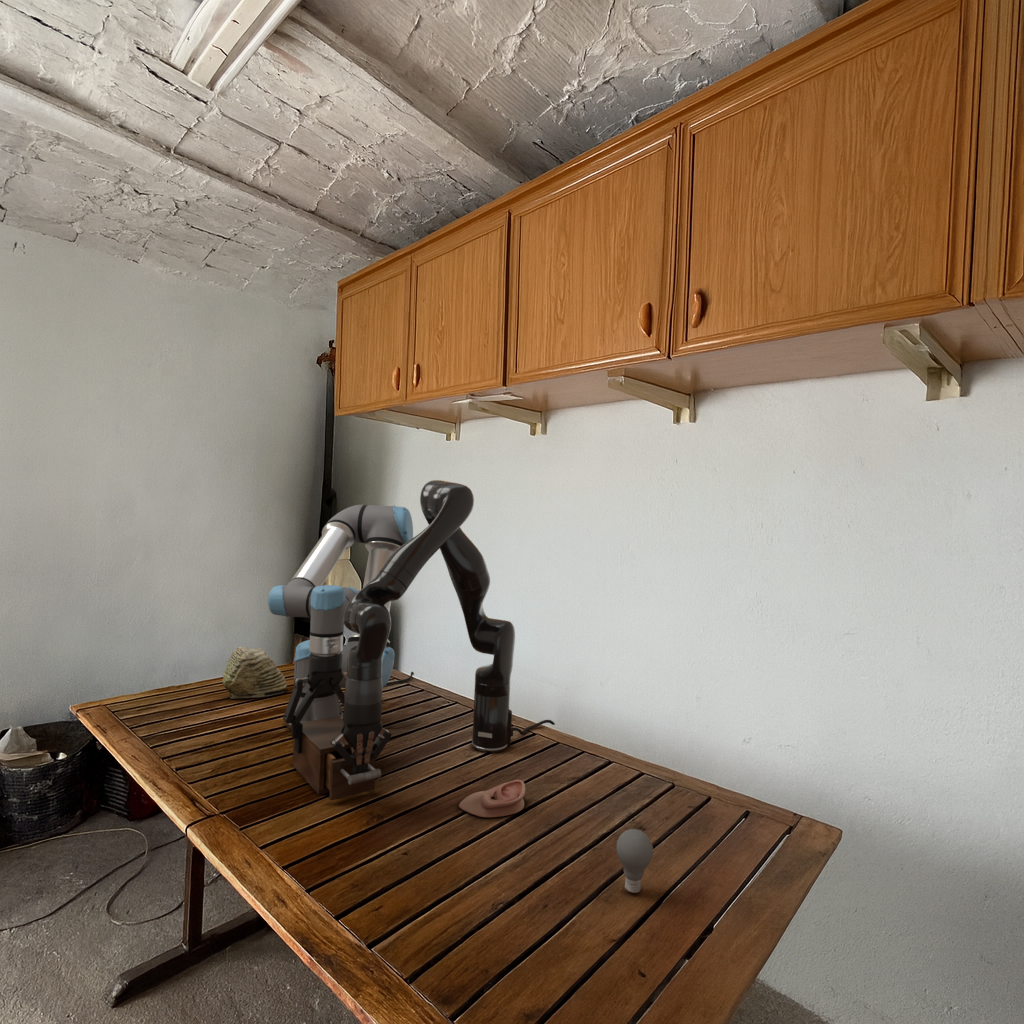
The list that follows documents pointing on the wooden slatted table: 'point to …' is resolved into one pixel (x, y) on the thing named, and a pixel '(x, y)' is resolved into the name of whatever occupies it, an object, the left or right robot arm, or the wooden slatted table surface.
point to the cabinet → (317, 750)
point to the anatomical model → (496, 800)
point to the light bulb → (634, 857)
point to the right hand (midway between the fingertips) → (359, 780)
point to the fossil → (252, 674)
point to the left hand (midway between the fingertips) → (322, 746)
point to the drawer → (347, 776)
